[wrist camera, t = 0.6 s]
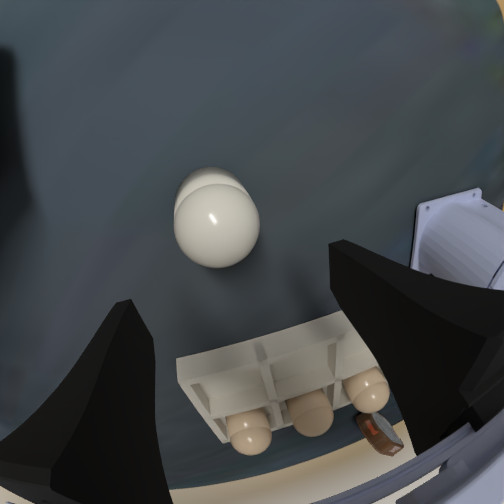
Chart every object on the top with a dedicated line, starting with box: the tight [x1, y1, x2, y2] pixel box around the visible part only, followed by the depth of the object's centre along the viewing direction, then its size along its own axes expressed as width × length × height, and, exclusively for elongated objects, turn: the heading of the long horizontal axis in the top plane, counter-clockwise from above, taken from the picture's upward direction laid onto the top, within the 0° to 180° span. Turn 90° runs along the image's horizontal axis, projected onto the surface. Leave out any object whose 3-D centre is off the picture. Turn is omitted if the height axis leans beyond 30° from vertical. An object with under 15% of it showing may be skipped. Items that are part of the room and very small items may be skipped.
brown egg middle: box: [284, 388, 334, 437], centre depth 28 cm, size 4×4×6 cm
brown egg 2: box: [342, 366, 390, 413], centre depth 29 cm, size 4×4×6 cm
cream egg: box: [174, 167, 260, 268], centre depth 16 cm, size 4×4×6 cm
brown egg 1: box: [225, 407, 272, 455], centre depth 27 cm, size 4×4×6 cm
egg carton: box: [176, 310, 388, 443], centre depth 28 cm, size 21×14×3 cm
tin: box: [356, 412, 404, 456], centre depth 38 cm, size 15×3×8 cm, turn 38°
